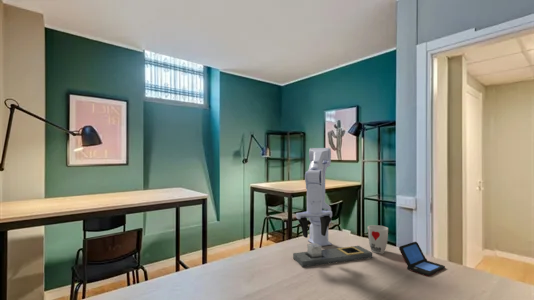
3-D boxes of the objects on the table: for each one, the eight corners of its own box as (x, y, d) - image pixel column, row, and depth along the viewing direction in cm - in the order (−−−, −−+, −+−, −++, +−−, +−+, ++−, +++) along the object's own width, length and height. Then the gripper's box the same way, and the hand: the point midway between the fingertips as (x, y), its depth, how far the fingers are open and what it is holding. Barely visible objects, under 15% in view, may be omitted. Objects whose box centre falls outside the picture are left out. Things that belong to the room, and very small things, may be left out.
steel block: (307, 259, 110) (307, 243, 110) (316, 258, 111) (316, 242, 111) (312, 263, 106) (311, 247, 106) (321, 261, 107) (321, 246, 107)
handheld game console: (428, 278, 93) (428, 255, 93) (398, 267, 102) (397, 246, 102) (446, 269, 100) (446, 248, 100) (416, 259, 109) (416, 240, 109)
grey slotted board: (293, 258, 111) (293, 252, 111) (358, 250, 120) (358, 245, 120) (302, 267, 102) (302, 261, 102) (372, 257, 111) (372, 252, 111)
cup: (363, 249, 120) (363, 226, 120) (377, 247, 124) (377, 224, 124) (378, 256, 113) (378, 231, 113) (392, 252, 116) (392, 228, 116)
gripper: (301, 203, 103) (301, 240, 103) (336, 201, 107) (336, 237, 107) (293, 200, 110) (294, 235, 109) (327, 198, 114) (327, 232, 114)
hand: (314, 236), depth 109 cm, fingers open, 7 cm apart
